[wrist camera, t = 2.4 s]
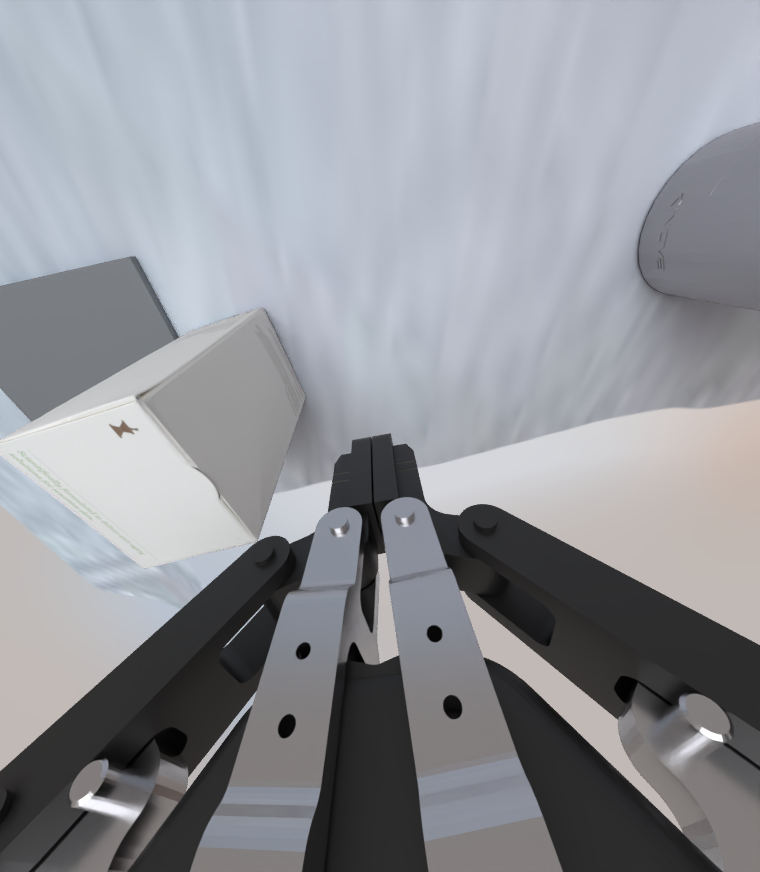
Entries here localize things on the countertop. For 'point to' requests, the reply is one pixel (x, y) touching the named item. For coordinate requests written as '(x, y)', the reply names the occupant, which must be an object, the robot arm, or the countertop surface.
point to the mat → (76, 331)
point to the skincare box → (173, 443)
